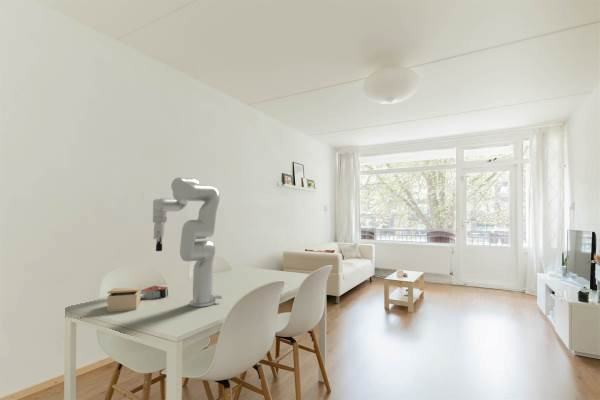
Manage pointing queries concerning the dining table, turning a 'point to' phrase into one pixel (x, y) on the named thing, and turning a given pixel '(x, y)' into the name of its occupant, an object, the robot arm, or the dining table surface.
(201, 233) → the robot arm
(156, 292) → the tape dispenser
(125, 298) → the box
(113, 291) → the lid
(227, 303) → the dining table surface
